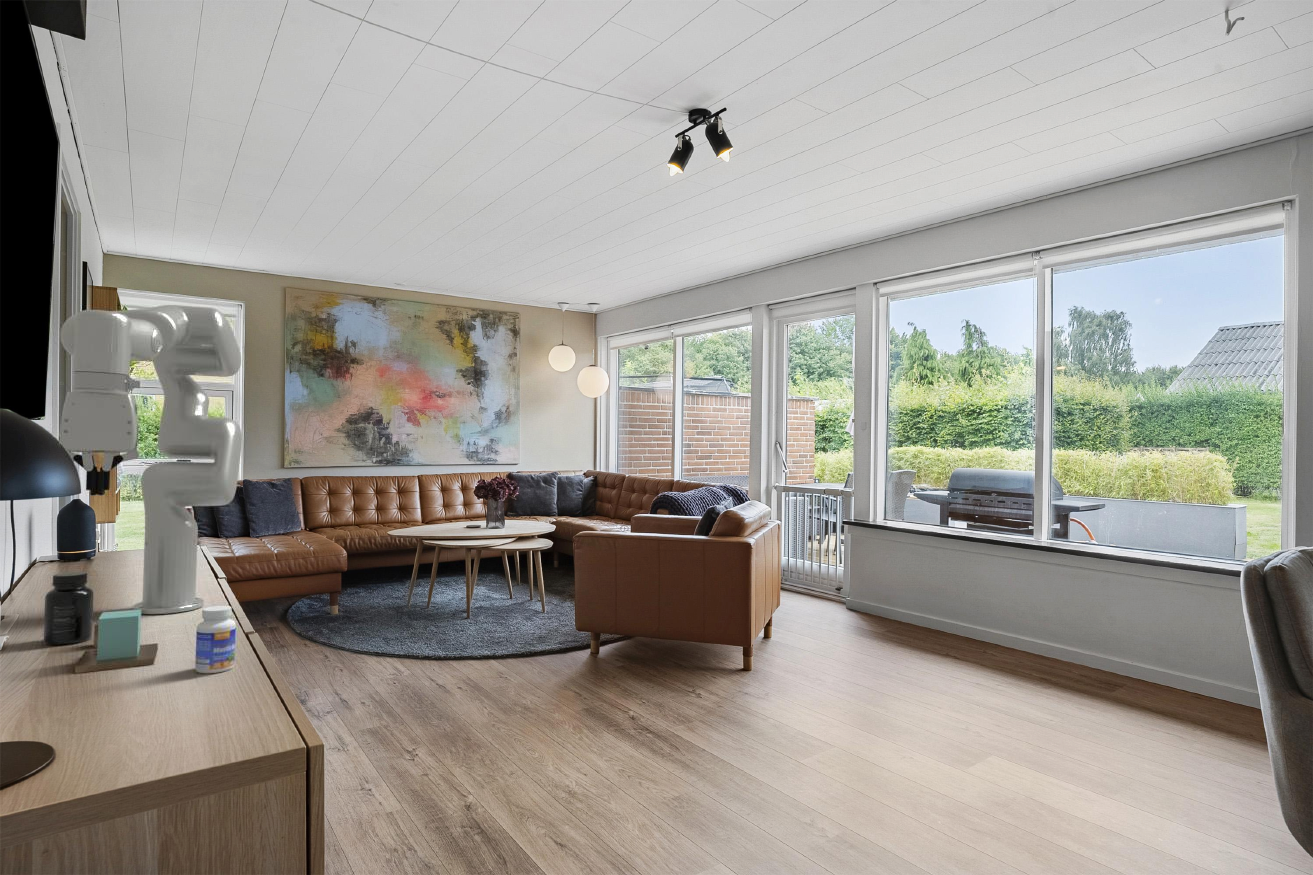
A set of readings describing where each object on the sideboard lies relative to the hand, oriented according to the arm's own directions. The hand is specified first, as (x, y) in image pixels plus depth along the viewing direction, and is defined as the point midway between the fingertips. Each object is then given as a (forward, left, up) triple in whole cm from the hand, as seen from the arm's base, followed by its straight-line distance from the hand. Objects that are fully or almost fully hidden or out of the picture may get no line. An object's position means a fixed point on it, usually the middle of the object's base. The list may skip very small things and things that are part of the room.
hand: (97, 494), depth 119 cm
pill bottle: (+16, +18, -27) cm, 36 cm away
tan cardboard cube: (-8, +1, -27) cm, 28 cm away
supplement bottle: (-14, -5, -27) cm, 31 cm away
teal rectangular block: (+4, +4, -26) cm, 27 cm away
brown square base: (+4, +4, -27) cm, 28 cm away
